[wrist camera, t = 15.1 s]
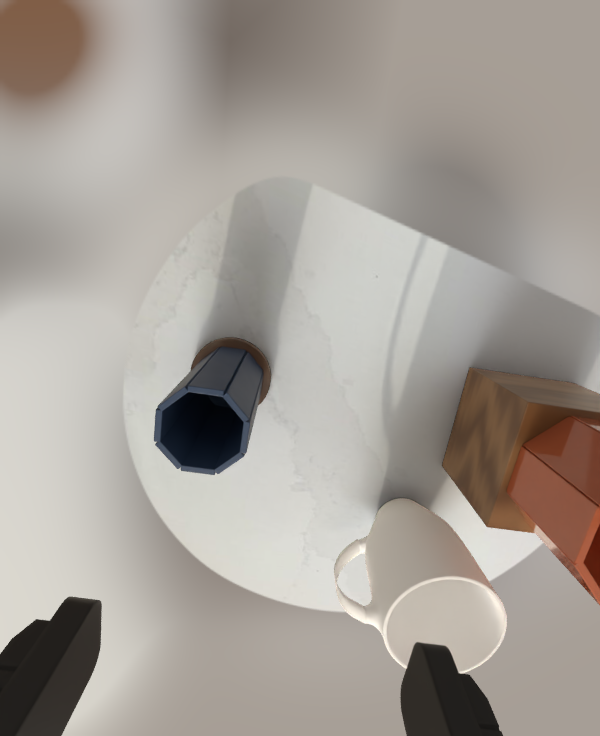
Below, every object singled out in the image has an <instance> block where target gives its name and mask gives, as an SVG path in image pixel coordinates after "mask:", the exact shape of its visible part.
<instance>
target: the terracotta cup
mask: <svg viewBox="0 0 600 736" xmlns="http://www.w3.org/2000/svg"><path fill="white" fill-rule="evenodd" d="M507 494H508V496H509V497H510V499H511V500H512V502H513V503H514V505H515V506H516V508H517V509H518V511H519V512H520V514H521V515H522V517H523V518H524V520H525V521H526V523H527V524H528V526H529V527H530V528H531V529H532V530H533V531H534V532H535V534H536V535H537V536H538V537H539V538H540V539H541V540H542V541H543V542H544V544H545V545H546V546H547V547H548V548H549V549H550V550H551V551H552V553H553V554H554V555H555V556H556V557H557V558H558V559H559V560H560V561H561V563H562V564H563V565H564V566H565V567H566V568H567V569H568V570H569V571H570V572H571V574H572V575H573V576H574V577H575V578H576V579H577V580H578V581H579V583H580V584H581V585H582V586H583V587H584V588H585V589H586V590H587V591H588V592H589V594H590V595H591V596H592V597H593V598H594V599H595V600H596V602H597V603H598V604H599V605H600V420H598V419H591V418H584V417H577V416H571V417H570V416H569V417H567V418H565V419H564V420H562V421H560V422H559V423H557V424H555V425H554V426H552V427H551V428H549V429H547V430H546V431H544V432H542V433H541V434H539V435H537V436H536V437H534V438H533V439H531V440H529V441H528V442H526V443H524V444H523V446H521V449H520V452H519V455H518V458H517V461H516V464H515V466H514V469H513V472H512V475H511V478H510V481H509V484H508V487H507Z"/></svg>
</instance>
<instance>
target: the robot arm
mask: <svg viewBox="0 0 600 736" xmlns="http://www.w3.org/2000/svg"><path fill="white" fill-rule="evenodd" d="M101 607H102V606H101V601H100V600H93V599H85V598H77V597H68V598H67V599H65V600H64V602H63V603H62V604H61V606H60V607H59V608H58V610H57V611H56V613H55V614H54V616H53V617H52V619H51V620H50V621H46V620H38V619H36V620H35V621H34V622H33V623H31V624H30V625H29V626H27V627H26V628H25V629H24V630H23V631H21V632H20V633H19V634H17V635H16V636H15V637H14V638H12V639H11V641H10V642H9V643H8V645H7V646H6V647H5V649H4V650H3V651H2V653H1V654H0V736H61V735H62V733H63V731H64V729H65V727H66V725H67V723H68V721H69V719H70V717H71V715H72V713H73V711H74V709H75V707H76V705H77V703H78V701H79V699H80V697H81V695H82V693H83V691H84V689H85V687H86V685H87V683H88V681H89V679H90V677H91V675H92V673H93V671H94V668H95V665H96V662H97V659H98V655H99V651H100V643H101V642H100V641H101ZM401 710H402V715H403V721H404V725H405V730H406V734H407V736H503V735H502V732H501V731H499V725H498V723H497V720H496V718H495V716H494V713H493V711H492V708H491V706H490V704H489V701H488V699H487V698H486V696H485V695H484V694H483V692H482V691H481V690H480V688H479V687H478V685H477V684H476V683H475V681H474V680H473V679H472V678H471V677H470V675H468V674H460V673H459V672H458V670H457V667H456V665H455V662H454V659H453V657H452V654H451V652H450V650H449V649H448V647H446V646H444V645H436V644H428V643H420V642H416V643H415V645H414V647H413V650H412V653H411V656H410V659H409V662H408V666H407V669H406V672H405V675H404V678H403V682H402V685H401Z"/></svg>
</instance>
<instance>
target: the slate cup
mask: <svg viewBox="0 0 600 736" xmlns="http://www.w3.org/2000/svg"><path fill="white" fill-rule="evenodd" d="M262 371H263V369H262V368H261V367H260V366H259V364H258V363H257V362H256V360H255V359H254V358H253V357H252V355H251V354H250V353H249V352H246V350H243V349H237V348H230V347H223V346H222V347H221V348H220V347H218V348H217V349H216V350H214V351H213V352H212V353H210V354H209V355H208V356H206V357H205V358H204V359H202V360H201V361H200V362H199V363H198V364H197V365H196V366H195V367H194V368H193V369H192V370H191V371H190V373H189V374H188V375H187V376H186V377H185V378H184V379H183V380H182V381H181V382H180V383H179V384H178V385H177V386H176V387H175V388H174V389H173V391H172V392H171V393H170V394H169V395H168V396H167V397H166V398H165V399H164V400H163V401H162V402H161V403H160V404H159V405H158V408H157V409H156V415H155V431H154V441H155V442H157V443H156V444H155V445H156V446H157V447H158V448H159V449H160V450H161V451H162V453H163V454H164V455H165V456H166V457H167V458H168V459H169V460H170V461H171V462H172V463H173V465H174V466H175V467H176V468H177V469H179V468H180V467H181V471H187V472H194V473H202V474H210V475H215V473H217V474H219V473H221V472H222V471H223V470H225V469H226V468H228V467H229V466H231V465H232V464H234V463H235V462H237V461H238V460H239V459H241V458H242V457H244V455H245V453H246V452H247V448H248V444H249V439H250V435H251V431H252V427H253V423H254V419H255V415H256V411H257V407H258V403H259V399H260V395H261V388H262V381H263V372H262Z"/></svg>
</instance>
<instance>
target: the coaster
mask: <svg viewBox="0 0 600 736" xmlns="http://www.w3.org/2000/svg"><path fill="white" fill-rule="evenodd" d="M222 346H223V347H230V348H237V349H243V350H246V352H249V353H250V354H251V355H252V357H253V358H254V359H255V360H256V362H257V363H258V364H259V366H260V367H261V368H262V369H263V371H262V372H263V381H262V388H261V395H260V399H259V403H258V405H259V404H260V403H261V402H262V401H263V400H264V398H265V397H266V395H267V393H268V390H269V387H270V382H271V372H270V367H269V364H268V361H267V359H266V357H265V356H264V354H263V353H262V352H261V351H260V350H259V349H258V348H257V347H256V346H255V345H253V344H252V343H250V342H248V341H246V340H243V339H239V338H232V337H228V338H220V339H217V340H215V341H212V342H210V343H209V344H207V345H206V346H205V347H204V348H203V349H201V350H200V352H199V353H198V354H197V355H196V357H195V359H194V361H193V363H192V366H191V370H192V369H193V368H194V367H195V366H196V365H197V364H198V363H199V362H200V361H201V360H202V359H204V358H205V357H206V356H208V355H209V354H210V353H212V352H213V351H214V350H216V349H217V348H218V347H220V348H221V347H222Z"/></svg>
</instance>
